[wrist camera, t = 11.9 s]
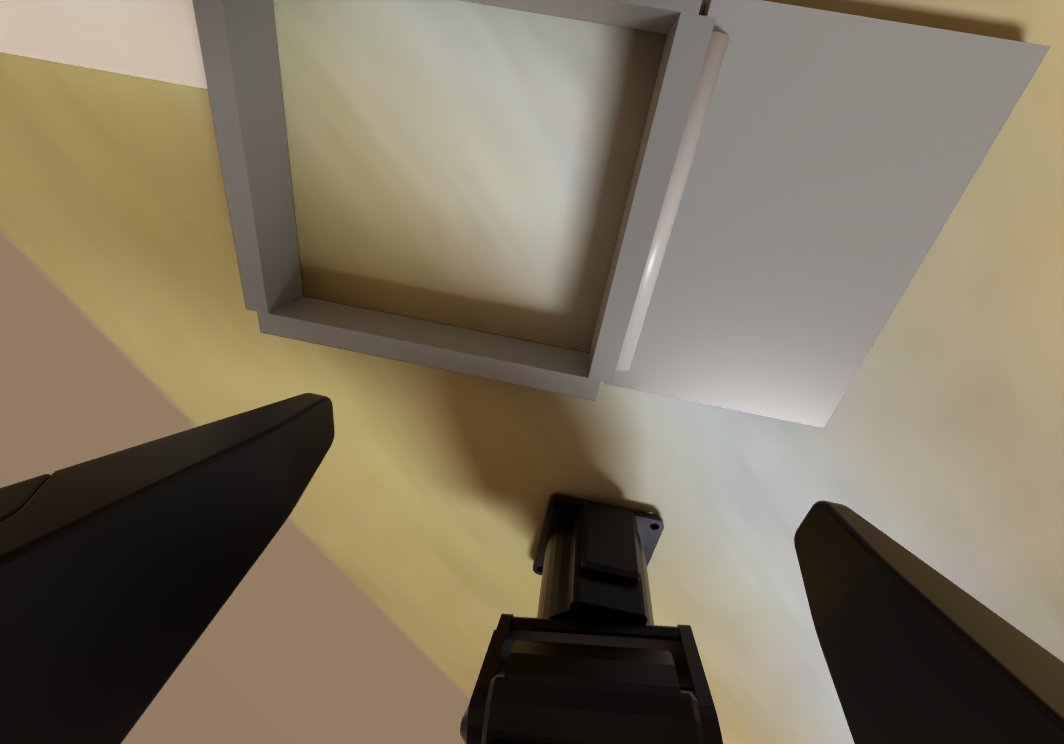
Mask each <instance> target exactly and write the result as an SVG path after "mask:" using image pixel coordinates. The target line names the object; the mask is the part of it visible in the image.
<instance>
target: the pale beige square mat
mask: <svg viewBox="0 0 1064 744" xmlns="http://www.w3.org/2000/svg"><path fill="white" fill-rule="evenodd" d="M0 52H2V53H8V54H13V55H19V56H24V57H30V58H36V59H41V60H47V61H52V62H58V63H64V64H69V65H75V66H80V67H86V68H92V69H97V70H103V71H108V72H114V73H119V74H125V75H131V76H136V77H142V78H147V79H153V80H159V81H164V82H170V83H175V84H181V85H186V86H192V87H198V88H203V89H208V88H207V82H206V76H205V70H204V65H203V59H202V53H201V47H200V42H199V36H198V30H197V24H196V19H195V13H194V7H193V1H192V0H0Z"/></svg>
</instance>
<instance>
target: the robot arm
mask: <svg viewBox="0 0 1064 744" xmlns="http://www.w3.org/2000/svg"><path fill="white" fill-rule="evenodd" d="M333 439H334V419H333V407H332V402H331V400H330V399H329V398H328V397H326V396H322V395H317V394H312V393H305V394H302V395H298V396H295V397H292V398H289V399H286V400H282V401H279V402H276V403H273V404H269V405H266V406H263V407H260V408H257V409H253V410H250V411H247V412H244V413H241V414H237V415H234V416H231V417H228V418H225V419H221V420H218V421H215V422H212V423H208V424H205V425H202V426H199V427H196V428H192V429H189V430H186V431H183V432H180V433H176V434H173V435H170V436H167V437H164V438H160V439H157V440H154V441H151V442H147V443H144V444H141V445H138V446H135V447H131V448H128V449H125V450H122V451H119V452H116V453H112V454H109V455H106V456H103V457H99V458H97V459H93V460H90V461H86V462H83V463H80V464H77V465H74V466H70V467H67V468H64V469H61V470H58V471H55V472H54V473H53V474H52V475H49V474H44V475H41V476H38V477H35V478H31V479H28V480H25V481H22V482H19V483H16V484H13V485H9V486H6V487H3V488H0V744H121V743H122V742H123V740H124V739H125V737H126V736H127V735H128V733H129V732H130V731H131V729H132V728H133V726H134V725H135V724H136V723H137V721H138V720H139V719H140V717H141V716H142V714H143V713H144V712H145V710H146V709H147V707H148V706H149V705H150V704H151V702H152V701H153V700H154V698H155V697H156V696H157V694H158V693H159V691H160V690H161V689H162V687H163V686H164V685H165V683H166V682H167V681H168V679H169V678H170V677H171V675H172V674H173V673H174V671H175V670H176V668H177V667H178V666H179V664H180V663H181V662H182V660H183V659H184V658H185V656H186V655H187V654H188V652H189V651H190V649H191V648H192V647H193V645H194V644H195V643H196V641H197V640H198V639H199V637H200V636H201V635H202V633H203V632H204V631H205V629H206V628H207V627H208V625H209V624H210V622H211V621H212V620H213V618H214V617H215V616H216V614H217V613H218V612H219V610H220V609H221V608H222V606H223V605H224V604H225V602H226V601H227V600H228V598H229V597H230V595H231V594H232V593H233V591H234V590H235V588H236V587H237V586H238V584H239V583H240V582H241V580H242V579H243V578H244V576H245V575H246V574H247V572H248V571H249V569H250V568H251V567H252V566H253V564H254V563H255V562H256V560H257V559H258V558H259V556H260V555H261V554H262V552H263V551H264V549H265V548H266V547H267V545H268V544H269V543H270V541H271V540H272V539H273V537H274V536H275V535H276V533H277V532H278V531H279V529H280V528H281V526H282V525H283V524H284V522H285V521H286V519H287V518H288V517H289V515H290V514H291V512H292V511H293V509H294V507H295V506H296V504H297V503H298V501H299V499H300V498H301V496H302V494H303V492H304V491H305V489H306V487H307V486H308V484H309V482H310V481H311V479H312V477H313V475H314V474H315V472H316V470H317V469H318V467H319V465H320V464H321V462H322V460H323V458H324V457H325V455H326V453H327V452H328V450H329V448H330V447H331V445H332V442H333ZM555 502H558V503H560V504H556V503H555ZM653 523H656V524H655V525H654V524H653ZM663 528H664V524H663V520H662V518H661V517H660V516H658V515H654V514H650V513H645V512H640V511H636V510H631V509H626V508H622V507H617V506H612V505H608V504H603V503H598V502H594V501H589V500H584V499H580V498H575V497H570V496H566V495H561V494H553V495H551V496H550V498H549V500H548V505H547V509H546V513H545V517H544V521H543V526H542V530H541V534H540V538H539V542H538V546H537V551H536V555H535V559H534V564H533V571H534V572H535V573H536V574H539V575H542V582H541V590H540V598H539V606H538V615H537V618H529V617H514V616H513V614H502V615H501V617H500V620H499V623H498V626H497V629H496V630H494V632H493V635H492V638H491V641H490V644H489V647H488V650H487V653H486V656H485V659H484V662H483V665H482V668H481V671H480V674H479V677H478V680H477V682H476V685H475V688H474V691H473V694H472V697H471V700H470V704H469V706H468V708H467V710H466V712H465V714H464V716H463V718H462V722H461V728H460V734H461V737H462V738H463V741H464V742H465V744H723V741H722V736H721V731H720V726H719V722H718V717H717V714H716V710H715V706H714V703H713V700H712V696H711V693H710V690H709V686H708V683H707V679H706V676H705V673H704V669H703V666H702V663H701V659H700V656H699V653H698V649H697V646H696V643H695V639H694V636H693V633H692V629H691V626H690V625H677V627H673V626H657V625H654V620H653V612H652V605H651V597H650V589H649V581H648V573H647V565H648V563H649V561H650V558H651V556H652V554H653V552H654V549H655V547H656V545H657V542H658V540H659V538H660V536H661V533H662V531H663ZM794 543H795V549H796V553H797V557H798V561H799V565H800V569H801V573H802V577H803V582H804V586H805V590H806V594H807V598H808V602H809V606H810V610H811V615H812V618H813V622H814V626H815V629H816V633H817V636H818V639H819V642H820V645H821V648H822V651H823V654H824V657H825V660H826V663H827V665H828V668H829V671H830V674H831V677H832V680H833V683H834V685H835V688H836V691H837V694H838V697H839V700H840V703H841V706H842V708H843V711H844V714H845V717H846V720H847V723H848V726H849V729H850V731H851V734H852V737H853V740H854V743H855V744H1064V662H1062V661H1061V660H1059V659H1058V658H1057V657H1055V656H1054V655H1053V654H1051V653H1050V652H1048V651H1047V650H1046V649H1044V648H1043V647H1041V646H1040V645H1039V644H1037V643H1036V642H1034V641H1033V640H1032V639H1030V638H1029V637H1028V636H1026V635H1025V634H1023V633H1022V632H1021V631H1019V630H1018V629H1016V628H1015V627H1014V626H1012V625H1011V624H1009V623H1008V622H1007V621H1005V620H1004V619H1003V618H1001V617H1000V616H998V615H997V614H996V613H994V612H993V611H991V610H990V609H989V608H987V607H986V606H984V605H983V604H982V603H980V602H979V601H978V600H976V599H975V598H973V597H972V596H971V595H969V594H968V593H966V592H965V591H964V590H962V589H961V588H959V587H958V586H957V585H955V584H954V583H953V582H951V581H950V580H948V579H947V578H946V577H944V576H943V575H941V574H940V573H939V572H937V571H936V570H934V569H933V568H932V567H930V566H929V565H928V564H926V563H925V562H923V561H922V560H921V559H919V558H918V557H916V556H915V555H914V554H912V553H911V552H909V551H908V550H907V549H905V548H904V547H903V546H901V545H900V544H898V543H897V542H896V541H894V540H893V539H891V538H890V537H889V536H887V535H886V534H884V533H883V532H882V531H880V530H879V529H878V528H876V527H875V526H873V525H872V524H871V523H869V522H868V521H866V520H865V519H864V518H862V517H861V516H859V515H858V514H857V513H855V512H854V511H853V510H851V509H850V508H848V507H847V506H844V505H842V504H837V503H832V502H828V501H818V502H816V503H815V504H814V505H813V506H812V508H811V509H810V511H809V512H808V514H807V515H806V517H805V518H804V520H803V521H802V523H801V524H800V526H799V527H798V529H797V531H796V533H795V538H794Z"/></svg>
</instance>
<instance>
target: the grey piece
mask: <svg viewBox="0 0 1064 744" xmlns="http://www.w3.org/2000/svg"><path fill="white" fill-rule="evenodd" d="M192 1H193V7H194V13H195V19H196V24H197V30H198V36H199V42H200V47H201V53H202V59H203V65H204V70H205V76H206V82H207V88H208V93H209V99H210V105H211V111H212V116H213V122H214V128H215V134H216V139H217V145H218V151H219V156H220V162H221V168H222V174H223V179H224V185H225V191H226V197H227V202H228V208H229V214H230V220H231V225H232V231H233V237H234V243H235V248H236V254H237V260H238V266H239V271H240V277H241V283H242V289H243V294H244V300H245V306H246V309H248V310H253V311H257V314H258V320H259V326H260V332H261V333H266V334H271V335H275V336H280V337H285V338H290V339H295V340H300V341H305V342H310V343H315V344H320V345H324V346H329V347H334V348H339V349H344V350H349V351H354V352H359V353H364V354H369V355H374V356H378V357H383V358H388V359H393V360H398V361H403V362H408V363H413V364H418V365H423V366H428V367H432V368H437V369H442V370H447V371H452V372H457V373H462V374H467V375H472V376H477V377H482V378H486V379H491V380H496V381H501V382H506V383H511V384H516V385H521V386H526V387H531V388H535V389H540V390H545V391H550V392H555V393H560V394H565V395H570V396H575V397H580V398H585V399H589V400H594V401H595V398H596V394H597V390H598V386H599V383H600V381H605V384H608V385H613V386H618V387H623V388H628V389H633V390H638V391H643V392H648V393H653V394H658V395H663V396H668V397H673V398H678V399H683V400H688V401H693V402H698V403H702V404H707V405H712V406H717V407H722V408H727V409H732V410H737V411H742V412H747V413H752V414H757V415H762V416H767V417H772V418H777V419H782V420H787V421H792V422H797V423H802V424H807V425H811V426H816V427H821V428H824V426H825V424H826V423H827V421H828V419H829V418H830V416H831V414H832V413H833V411H834V409H835V408H836V406H837V404H838V403H839V401H840V399H841V398H842V396H843V394H844V393H845V391H846V389H847V388H848V386H849V384H850V383H851V381H852V379H853V377H854V376H855V374H856V372H857V371H858V369H859V367H860V366H861V364H862V362H863V361H864V359H865V357H866V356H867V354H868V352H869V351H870V349H871V347H872V346H873V344H874V342H875V341H876V339H877V337H878V335H879V334H880V332H881V330H882V329H883V327H884V325H885V324H886V322H887V320H888V319H889V317H890V315H891V314H892V312H893V310H894V309H895V307H896V305H897V304H898V302H899V300H900V299H901V297H902V295H903V294H904V292H905V290H906V288H907V287H908V285H909V283H910V282H911V280H912V278H913V277H914V275H915V273H916V272H917V270H918V268H919V267H920V265H921V263H922V262H923V260H924V258H925V257H926V255H927V253H928V252H929V250H930V248H931V247H932V245H933V243H934V241H935V240H936V238H937V236H938V235H939V233H940V231H941V230H942V228H943V226H944V225H945V223H946V221H947V220H948V218H949V216H950V215H951V213H952V211H953V210H954V208H955V206H956V205H957V203H958V201H959V199H960V198H961V196H962V194H963V193H964V191H965V189H966V188H967V186H968V184H969V183H970V181H971V179H972V178H973V176H974V174H975V173H976V171H977V169H978V168H979V166H980V164H981V163H982V161H983V159H984V158H985V156H986V154H987V152H988V151H989V149H990V147H991V146H992V144H993V142H994V141H995V139H996V137H997V136H998V134H999V132H1000V131H1001V129H1002V127H1003V126H1004V124H1005V122H1006V121H1007V119H1008V117H1009V116H1010V114H1011V112H1012V111H1013V109H1014V107H1015V105H1016V104H1017V102H1018V100H1019V99H1020V97H1021V95H1022V94H1023V92H1024V90H1025V89H1026V87H1027V85H1028V84H1029V82H1030V80H1031V79H1032V77H1033V75H1034V74H1035V72H1036V70H1037V69H1038V67H1039V65H1040V63H1041V62H1042V60H1043V58H1044V57H1045V55H1046V53H1047V52H1048V50H1049V48H1050V47H1051V46H1045V45H1039V44H1032V43H1026V42H1020V41H1014V40H1007V39H1001V38H995V37H989V36H982V35H976V34H970V33H964V32H957V31H951V30H945V29H939V28H932V27H926V26H920V25H914V24H907V23H901V22H895V21H889V20H882V19H876V18H870V17H864V16H857V15H851V14H845V13H839V12H832V11H826V10H820V9H814V8H807V7H801V6H795V5H789V4H782V3H776V2H770V1H764V0H708V1H707V5H706V8H705V12H704V16H703V15H699V11H700V7H701V4H702V0H461V1H467V2H474V3H480V4H486V5H492V6H498V7H504V8H510V9H516V10H522V11H528V12H534V13H540V14H546V15H552V16H558V17H564V18H570V19H577V20H583V21H589V22H595V23H601V24H607V25H613V26H619V27H625V28H631V29H637V30H643V31H649V32H655V33H661V34H667V38H666V42H665V46H664V50H663V54H662V58H661V62H660V66H659V70H658V74H657V78H656V82H655V86H654V91H653V95H652V99H651V103H650V107H649V111H648V115H647V119H646V123H645V127H644V131H643V135H642V139H641V143H640V147H639V152H638V156H637V160H636V164H635V168H634V172H633V176H632V180H631V184H630V188H629V192H628V196H627V200H626V204H625V208H624V213H623V217H622V221H621V225H620V229H619V233H618V237H617V241H616V245H615V249H614V253H613V257H612V261H611V265H610V270H609V274H608V278H607V282H606V286H605V290H604V294H603V298H602V302H601V306H600V310H599V314H598V318H597V322H596V326H595V331H594V335H593V339H592V343H591V347H590V351H589V353H585V352H580V351H575V350H570V349H565V348H560V347H555V346H550V345H545V344H540V343H535V342H530V341H525V340H520V339H515V338H510V337H505V336H500V335H495V334H490V333H485V332H480V331H475V330H470V329H465V328H460V327H455V326H450V325H445V324H440V323H435V322H430V321H424V320H419V319H414V318H409V317H404V316H399V315H394V314H389V313H384V312H379V311H374V310H369V309H364V308H359V307H354V306H349V305H344V304H339V303H334V302H329V301H324V300H319V299H314V298H309V297H304V296H303V287H302V277H301V268H300V258H299V249H298V239H297V230H296V220H295V210H294V201H293V191H292V182H291V172H290V163H289V153H288V143H287V134H286V124H285V115H284V105H283V95H282V86H281V76H280V67H279V57H278V48H277V38H276V28H275V19H274V9H273V0H192Z"/></svg>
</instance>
